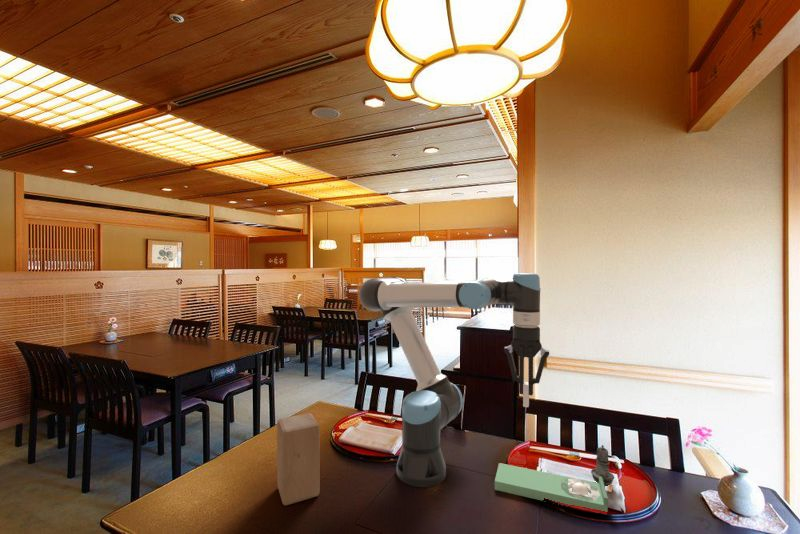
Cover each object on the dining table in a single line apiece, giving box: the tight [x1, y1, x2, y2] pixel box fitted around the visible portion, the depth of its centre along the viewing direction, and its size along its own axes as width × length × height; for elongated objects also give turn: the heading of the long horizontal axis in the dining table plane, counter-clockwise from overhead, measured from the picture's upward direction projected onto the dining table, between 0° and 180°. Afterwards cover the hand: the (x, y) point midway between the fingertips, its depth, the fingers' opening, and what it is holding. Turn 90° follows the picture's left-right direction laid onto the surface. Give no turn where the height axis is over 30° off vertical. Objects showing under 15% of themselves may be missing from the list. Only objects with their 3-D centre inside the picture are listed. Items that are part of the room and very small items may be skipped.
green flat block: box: [494, 462, 609, 513], centre depth 101 cm, size 28×10×4 cm, turn 68°
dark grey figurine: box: [590, 444, 615, 486], centre depth 103 cm, size 6×6×12 cm
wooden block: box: [276, 412, 321, 506], centre depth 101 cm, size 10×10×20 cm
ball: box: [572, 482, 588, 496], centre depth 98 cm, size 4×4×4 cm
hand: (526, 405), depth 106 cm, fingers closed
